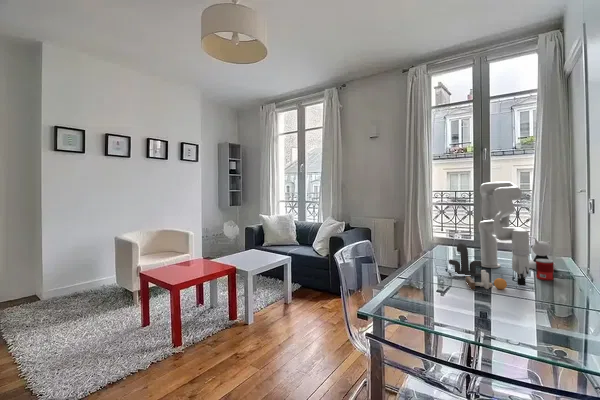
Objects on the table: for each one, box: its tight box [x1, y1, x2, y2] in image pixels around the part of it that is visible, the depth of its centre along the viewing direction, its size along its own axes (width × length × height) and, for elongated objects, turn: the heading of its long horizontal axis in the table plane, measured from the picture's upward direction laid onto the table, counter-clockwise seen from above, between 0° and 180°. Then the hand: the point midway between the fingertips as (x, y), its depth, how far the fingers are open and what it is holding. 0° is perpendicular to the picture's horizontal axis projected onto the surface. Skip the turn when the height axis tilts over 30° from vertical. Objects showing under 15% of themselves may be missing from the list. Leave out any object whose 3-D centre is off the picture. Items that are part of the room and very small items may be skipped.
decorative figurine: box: [528, 238, 557, 271], centre depth 190 cm, size 15×15×20 cm
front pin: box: [474, 281, 494, 288], centre depth 166 cm, size 2×2×8 cm
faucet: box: [448, 241, 482, 278], centre depth 191 cm, size 18×16×20 cm
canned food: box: [535, 258, 555, 282], centre depth 172 cm, size 8×8×11 cm
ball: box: [493, 277, 508, 290], centre depth 161 cm, size 6×6×6 cm
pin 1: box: [480, 269, 487, 283], centre depth 168 cm, size 2×2×8 cm
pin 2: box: [483, 272, 490, 290], centre depth 163 cm, size 2×2×8 cm
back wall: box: [465, 276, 476, 290], centre depth 168 cm, size 12×2×4 cm, turn 163°
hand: (521, 285), depth 161 cm, fingers closed
